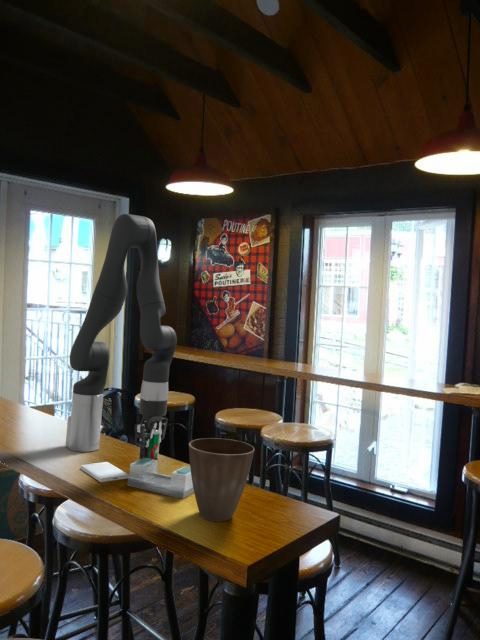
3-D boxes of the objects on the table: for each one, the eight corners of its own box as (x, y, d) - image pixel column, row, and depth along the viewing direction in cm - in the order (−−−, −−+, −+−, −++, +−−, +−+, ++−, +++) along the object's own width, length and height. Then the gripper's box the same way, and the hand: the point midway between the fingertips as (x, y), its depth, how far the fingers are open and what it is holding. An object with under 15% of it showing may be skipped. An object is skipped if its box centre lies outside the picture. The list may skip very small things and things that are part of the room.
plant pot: (169, 512, 124) (175, 442, 124) (214, 499, 135) (220, 434, 135) (216, 534, 114) (223, 458, 114) (261, 518, 125) (267, 449, 125)
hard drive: (80, 464, 150) (101, 477, 140) (108, 461, 155) (129, 473, 145) (80, 470, 150) (100, 484, 140) (107, 467, 155) (129, 480, 145)
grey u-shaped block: (127, 485, 139) (129, 462, 139) (144, 477, 147) (146, 456, 147) (183, 498, 133) (185, 475, 133) (197, 489, 141) (199, 467, 141)
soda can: (136, 469, 153) (140, 426, 153) (154, 468, 155) (157, 426, 155) (140, 474, 149) (144, 431, 148) (158, 474, 151) (162, 431, 151)
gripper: (155, 392, 160) (150, 450, 160) (128, 398, 146) (122, 461, 147) (178, 396, 157) (173, 455, 157) (152, 402, 144) (146, 466, 144)
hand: (148, 457), depth 152 cm, fingers closed on soda can, 5 cm apart
